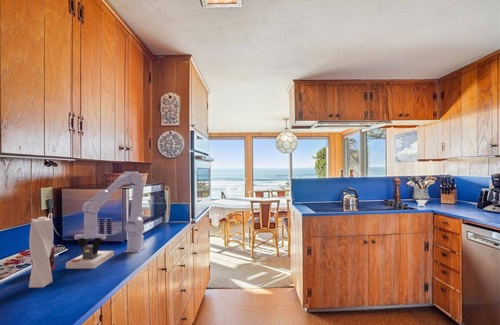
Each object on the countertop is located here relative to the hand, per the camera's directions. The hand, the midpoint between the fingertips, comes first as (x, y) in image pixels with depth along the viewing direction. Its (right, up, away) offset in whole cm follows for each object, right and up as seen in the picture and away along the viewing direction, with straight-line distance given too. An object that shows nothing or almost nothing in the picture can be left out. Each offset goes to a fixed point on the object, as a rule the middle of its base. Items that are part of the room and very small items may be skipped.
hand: (90, 253), depth 131 cm
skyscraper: (-4, -4, -25) cm, 26 cm away
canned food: (-14, -4, -11) cm, 19 cm away
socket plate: (0, -4, +1) cm, 4 cm away
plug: (0, -2, 0) cm, 2 cm away
